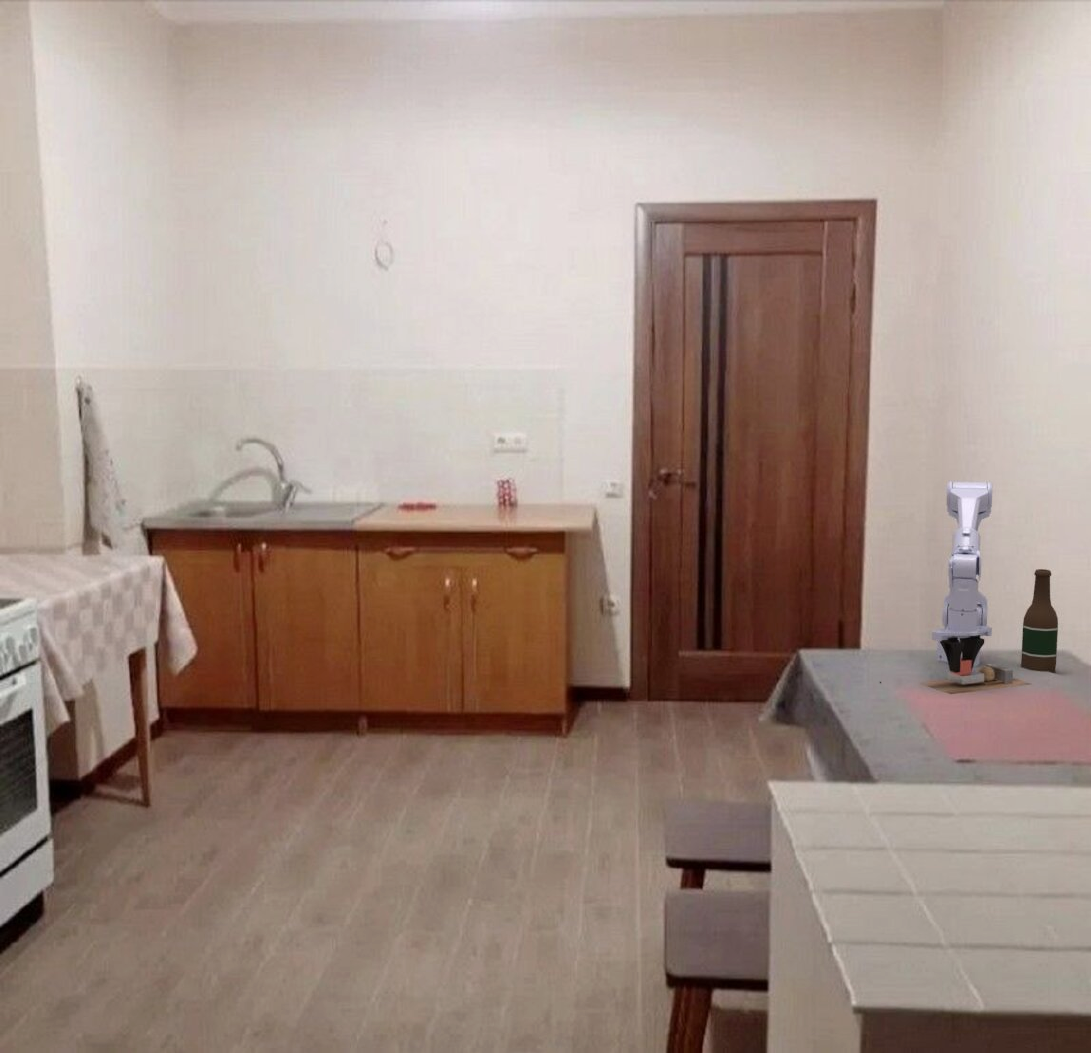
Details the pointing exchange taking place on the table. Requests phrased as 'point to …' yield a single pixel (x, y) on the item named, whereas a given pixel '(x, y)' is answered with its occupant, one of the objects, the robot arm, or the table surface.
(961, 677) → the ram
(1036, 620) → the beer bottle
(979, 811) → the table surface
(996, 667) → the wooden puzzle board
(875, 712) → the table surface
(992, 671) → the walnut
